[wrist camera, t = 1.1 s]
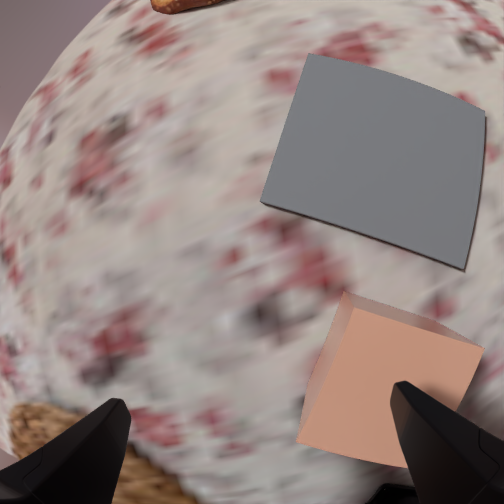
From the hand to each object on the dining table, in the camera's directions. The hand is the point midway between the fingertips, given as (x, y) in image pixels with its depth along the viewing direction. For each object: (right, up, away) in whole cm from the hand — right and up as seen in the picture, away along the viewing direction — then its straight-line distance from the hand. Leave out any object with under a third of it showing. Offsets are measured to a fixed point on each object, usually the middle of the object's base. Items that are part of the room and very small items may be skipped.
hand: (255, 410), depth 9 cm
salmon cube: (+8, -2, +9) cm, 12 cm away
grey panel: (+9, +12, +9) cm, 17 cm away
